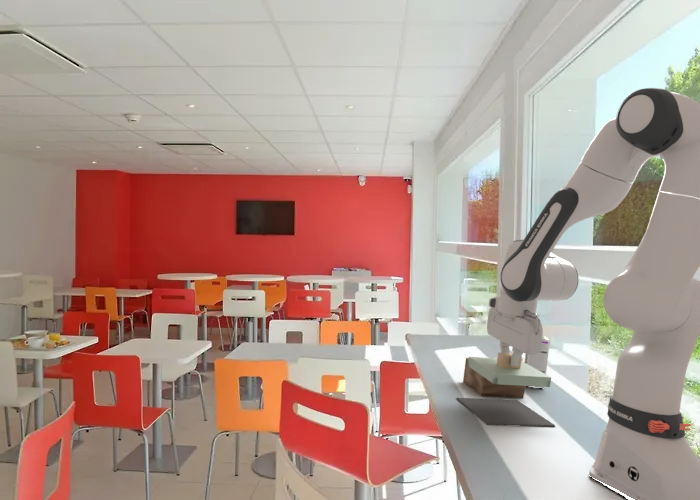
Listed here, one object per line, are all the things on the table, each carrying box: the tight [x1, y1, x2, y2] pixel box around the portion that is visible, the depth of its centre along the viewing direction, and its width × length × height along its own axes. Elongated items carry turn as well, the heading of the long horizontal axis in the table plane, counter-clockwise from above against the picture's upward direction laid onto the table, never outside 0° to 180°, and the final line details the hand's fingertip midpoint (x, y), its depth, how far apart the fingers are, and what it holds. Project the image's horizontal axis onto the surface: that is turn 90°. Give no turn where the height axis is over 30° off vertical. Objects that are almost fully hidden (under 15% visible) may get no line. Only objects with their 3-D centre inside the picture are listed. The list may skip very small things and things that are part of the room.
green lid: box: [468, 352, 552, 388], centre depth 134 cm, size 14×14×5 cm
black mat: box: [456, 397, 556, 428], centre depth 135 cm, size 17×17×1 cm
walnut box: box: [462, 357, 526, 399], centre depth 153 cm, size 12×12×7 cm
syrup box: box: [524, 335, 551, 389], centre depth 162 cm, size 6×6×14 cm
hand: (509, 363), depth 134 cm, fingers closed on green lid, 2 cm apart
